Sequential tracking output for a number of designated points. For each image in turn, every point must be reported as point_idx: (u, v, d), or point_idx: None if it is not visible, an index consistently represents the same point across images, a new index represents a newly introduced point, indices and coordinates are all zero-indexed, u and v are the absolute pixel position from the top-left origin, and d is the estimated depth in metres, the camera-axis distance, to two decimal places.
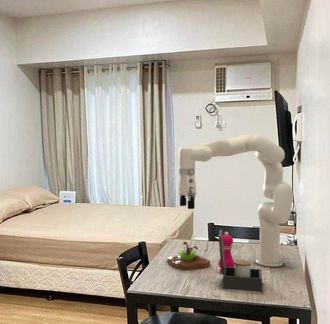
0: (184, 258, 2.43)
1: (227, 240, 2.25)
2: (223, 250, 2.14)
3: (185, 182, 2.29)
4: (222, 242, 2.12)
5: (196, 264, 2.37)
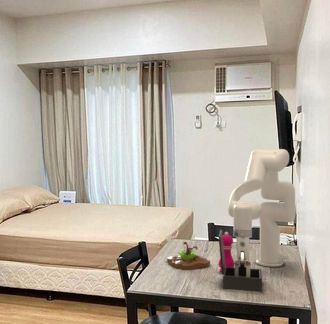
0: (184, 258, 2.43)
1: (227, 240, 2.25)
2: (223, 250, 2.14)
3: (237, 244, 2.05)
4: (222, 242, 2.12)
5: (196, 264, 2.37)
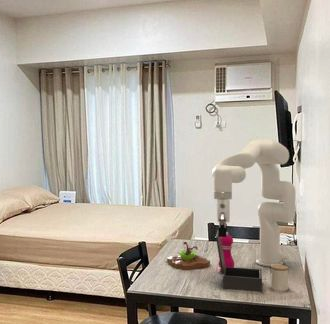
0: (184, 258, 2.43)
1: (227, 240, 2.25)
2: (222, 250, 2.14)
3: (217, 207, 2.06)
4: (220, 242, 2.12)
5: (196, 264, 2.37)
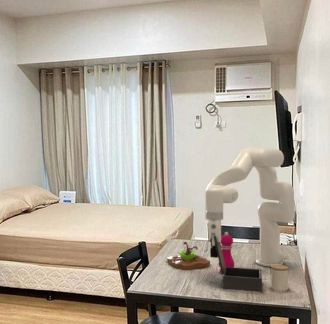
0: (184, 258, 2.43)
1: (227, 240, 2.25)
2: (221, 250, 2.14)
3: (208, 227, 2.08)
4: None
5: (196, 264, 2.37)
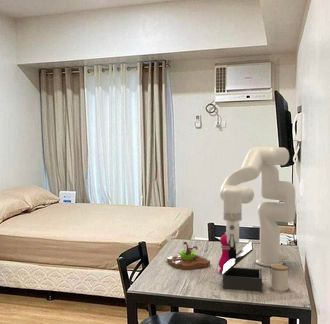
0: (184, 258, 2.43)
1: None
2: (237, 257, 2.12)
3: (226, 228, 2.06)
4: (244, 252, 2.09)
5: (196, 264, 2.37)
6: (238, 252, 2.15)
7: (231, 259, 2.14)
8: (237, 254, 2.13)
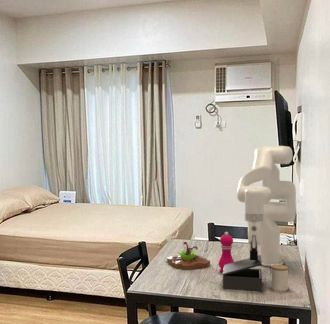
0: (184, 258, 2.43)
1: (227, 240, 2.25)
2: None
3: (248, 229, 2.03)
4: None
5: (196, 264, 2.37)
6: None
7: (234, 263, 2.14)
8: (242, 261, 2.13)
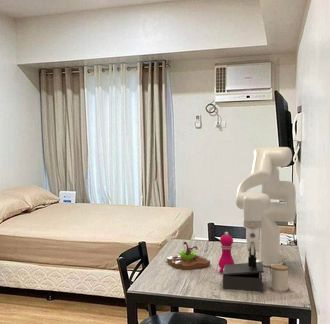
0: (184, 258, 2.43)
1: (227, 240, 2.25)
2: None
3: (247, 236, 2.03)
4: None
5: (196, 264, 2.37)
6: (244, 263, 2.14)
7: (235, 265, 2.14)
8: (243, 264, 2.12)
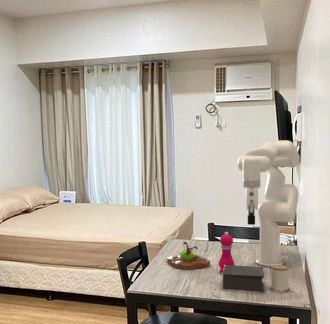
0: (184, 258, 2.43)
1: (227, 240, 2.25)
2: None
3: (246, 195, 2.15)
4: None
5: (196, 264, 2.37)
6: (245, 266, 2.14)
7: (235, 266, 2.14)
8: (243, 267, 2.12)
